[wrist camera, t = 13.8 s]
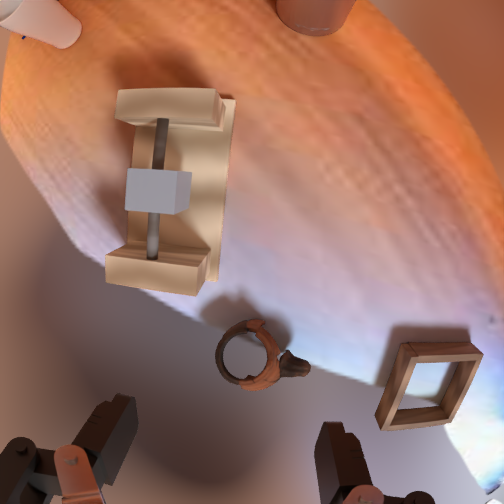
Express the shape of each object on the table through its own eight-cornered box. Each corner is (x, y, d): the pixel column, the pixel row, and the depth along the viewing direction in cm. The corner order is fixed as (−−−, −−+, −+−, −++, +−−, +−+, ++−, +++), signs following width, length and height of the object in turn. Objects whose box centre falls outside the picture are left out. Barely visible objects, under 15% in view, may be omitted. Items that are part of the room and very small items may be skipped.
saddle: (149, 169, 33) (127, 168, 27) (192, 172, 33) (177, 170, 27) (146, 204, 34) (124, 210, 28) (188, 208, 34) (173, 214, 28)
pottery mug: (229, 380, 44) (205, 388, 36) (234, 317, 46) (212, 314, 38) (310, 390, 40) (303, 402, 33) (317, 323, 42) (311, 322, 35)
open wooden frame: (401, 342, 41) (411, 355, 37) (472, 341, 41) (484, 353, 37) (374, 415, 44) (380, 431, 40) (441, 410, 44) (450, 423, 40)
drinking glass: (95, 23, 32) (40, -20, 18) (68, 59, 33) (4, 29, 19) (70, 12, 31) (16, -26, 17) (45, 47, 33) (-15, 19, 18)
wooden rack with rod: (142, 99, 35) (111, 81, 26) (236, 101, 35) (227, 79, 26) (129, 267, 40) (98, 289, 31) (218, 279, 40) (205, 306, 31)
